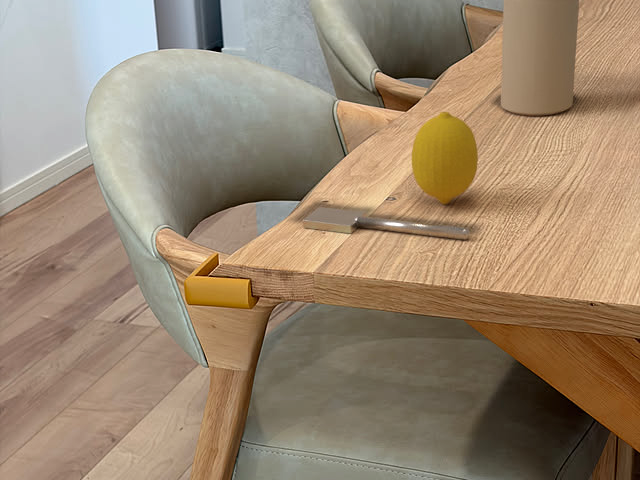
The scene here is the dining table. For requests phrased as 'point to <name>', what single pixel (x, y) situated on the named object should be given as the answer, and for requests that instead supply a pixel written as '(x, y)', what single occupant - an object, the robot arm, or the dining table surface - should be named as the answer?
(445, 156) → the lemon
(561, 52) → the travel mug
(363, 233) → the dining table surface
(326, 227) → the silver knife
